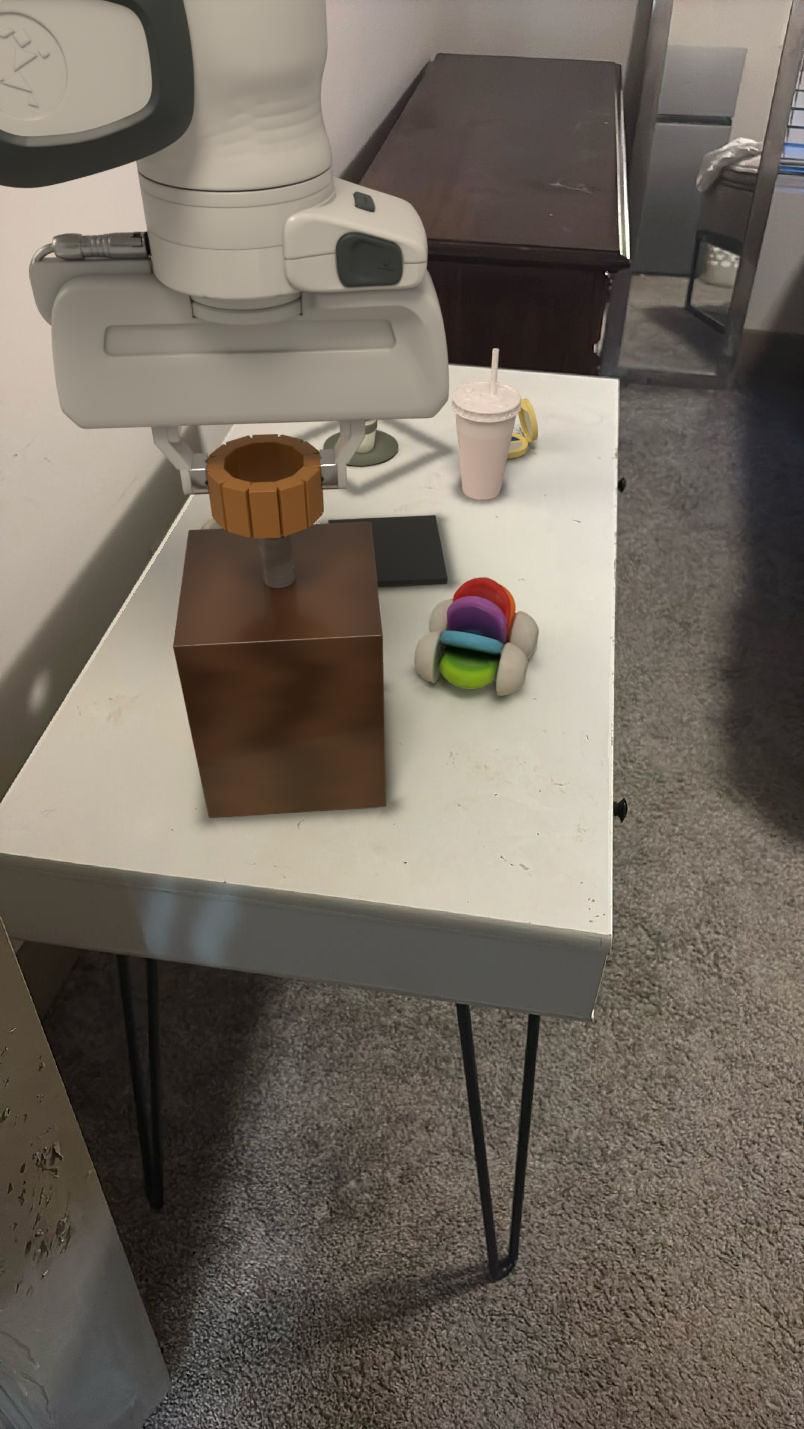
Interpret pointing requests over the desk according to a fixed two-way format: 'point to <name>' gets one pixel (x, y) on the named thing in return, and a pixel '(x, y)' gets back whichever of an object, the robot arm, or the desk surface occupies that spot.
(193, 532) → the tape stand
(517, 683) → the rainbow disc roller toy
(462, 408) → the smoothie
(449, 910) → the desk surface
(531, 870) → the desk surface
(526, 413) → the eyeshadow
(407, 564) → the mat
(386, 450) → the coffee cup
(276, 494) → the grooved wooden ring
